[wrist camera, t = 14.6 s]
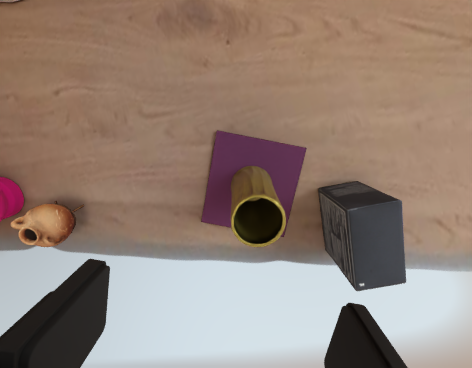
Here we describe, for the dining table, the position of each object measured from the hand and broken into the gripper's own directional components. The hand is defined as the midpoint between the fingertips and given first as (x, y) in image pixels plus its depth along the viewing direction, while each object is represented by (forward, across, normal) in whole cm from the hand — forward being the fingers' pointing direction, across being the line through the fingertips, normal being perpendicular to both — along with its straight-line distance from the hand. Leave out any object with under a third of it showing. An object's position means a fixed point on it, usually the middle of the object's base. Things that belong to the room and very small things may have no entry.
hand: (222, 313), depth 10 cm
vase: (+28, -3, +1) cm, 28 cm away
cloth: (+28, -3, +1) cm, 29 cm away
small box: (+28, -18, +4) cm, 34 cm away
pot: (+29, +24, +11) cm, 39 cm away
